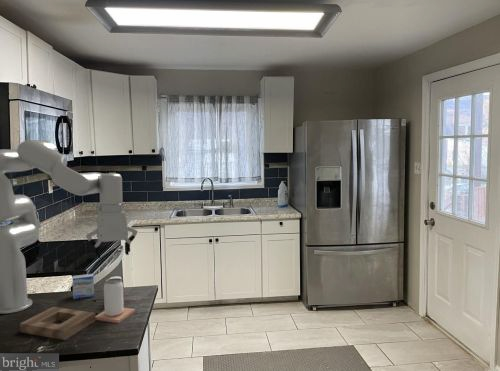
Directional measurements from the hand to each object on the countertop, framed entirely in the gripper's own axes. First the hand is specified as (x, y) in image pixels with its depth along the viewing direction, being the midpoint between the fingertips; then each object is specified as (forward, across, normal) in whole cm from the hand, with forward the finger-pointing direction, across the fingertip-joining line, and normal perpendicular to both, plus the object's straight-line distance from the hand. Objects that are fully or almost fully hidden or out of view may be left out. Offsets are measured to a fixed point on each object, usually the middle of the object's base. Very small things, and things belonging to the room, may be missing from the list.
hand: (112, 255), depth 136 cm
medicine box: (+23, -8, +25) cm, 35 cm away
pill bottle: (+22, +2, +12) cm, 26 cm away
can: (+21, 0, 0) cm, 21 cm away
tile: (+22, 0, 0) cm, 22 cm away
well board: (+22, -18, 0) cm, 29 cm away
